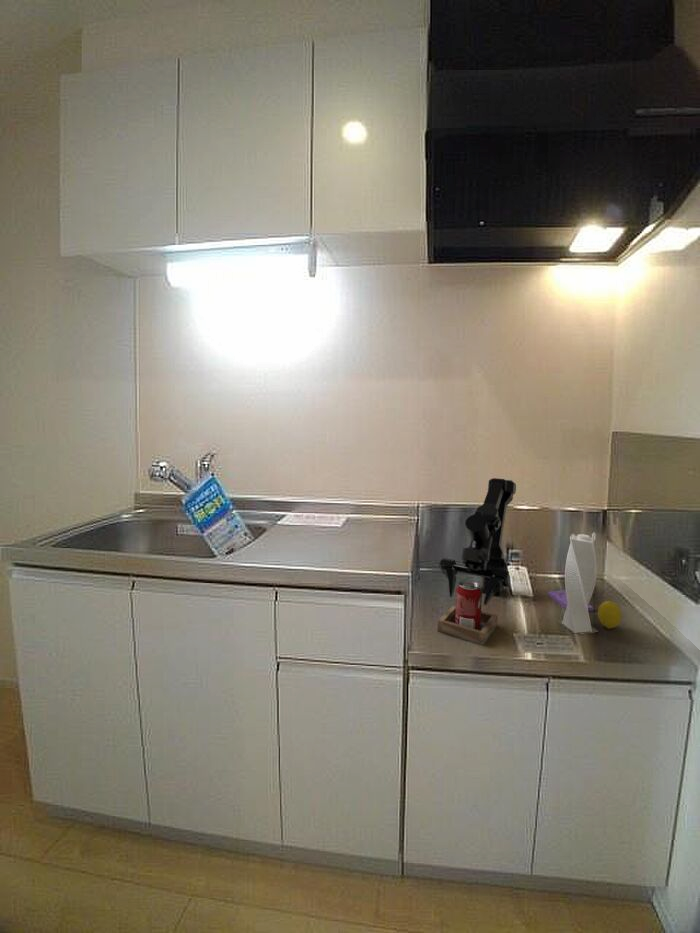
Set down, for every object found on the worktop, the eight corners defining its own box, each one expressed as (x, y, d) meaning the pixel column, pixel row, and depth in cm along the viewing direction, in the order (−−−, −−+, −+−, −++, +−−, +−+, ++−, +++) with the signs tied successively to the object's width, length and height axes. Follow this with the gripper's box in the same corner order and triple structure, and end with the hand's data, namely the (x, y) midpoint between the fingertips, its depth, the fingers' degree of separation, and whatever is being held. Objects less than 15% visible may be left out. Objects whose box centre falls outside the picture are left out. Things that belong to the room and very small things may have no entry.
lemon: (617, 625, 119) (619, 598, 118) (622, 635, 114) (625, 606, 113) (594, 622, 121) (596, 595, 120) (599, 631, 116) (601, 603, 115)
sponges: (566, 595, 140) (567, 589, 140) (593, 612, 128) (594, 606, 128) (547, 596, 139) (547, 590, 139) (572, 614, 127) (572, 608, 127)
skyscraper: (601, 635, 114) (610, 533, 110) (574, 637, 112) (582, 534, 109) (580, 620, 122) (587, 525, 119) (554, 622, 121) (560, 526, 117)
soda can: (475, 635, 113) (476, 591, 111) (451, 627, 117) (452, 585, 115) (483, 625, 118) (485, 583, 117) (460, 618, 122) (462, 577, 121)
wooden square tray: (454, 613, 126) (454, 604, 125) (496, 625, 119) (497, 615, 118) (437, 631, 116) (437, 620, 115) (483, 645, 109) (483, 634, 108)
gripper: (442, 530, 122) (427, 580, 114) (510, 540, 113) (500, 595, 105) (449, 549, 130) (436, 597, 122) (514, 560, 121) (504, 613, 112)
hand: (467, 600), depth 115 cm, fingers open, 9 cm apart
